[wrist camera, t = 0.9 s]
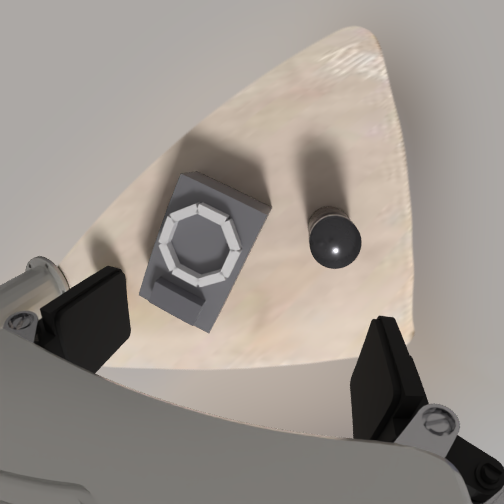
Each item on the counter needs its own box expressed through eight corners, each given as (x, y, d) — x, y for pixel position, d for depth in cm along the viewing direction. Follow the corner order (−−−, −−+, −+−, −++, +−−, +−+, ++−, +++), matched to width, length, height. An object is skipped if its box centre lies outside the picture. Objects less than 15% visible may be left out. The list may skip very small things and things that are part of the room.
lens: (337, 255, 35) (344, 277, 28) (300, 236, 35) (300, 254, 28) (357, 219, 33) (370, 233, 27) (320, 198, 33) (325, 207, 27)
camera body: (219, 313, 40) (205, 340, 34) (155, 279, 40) (132, 299, 34) (272, 207, 34) (265, 217, 28) (196, 171, 35) (175, 174, 28)
